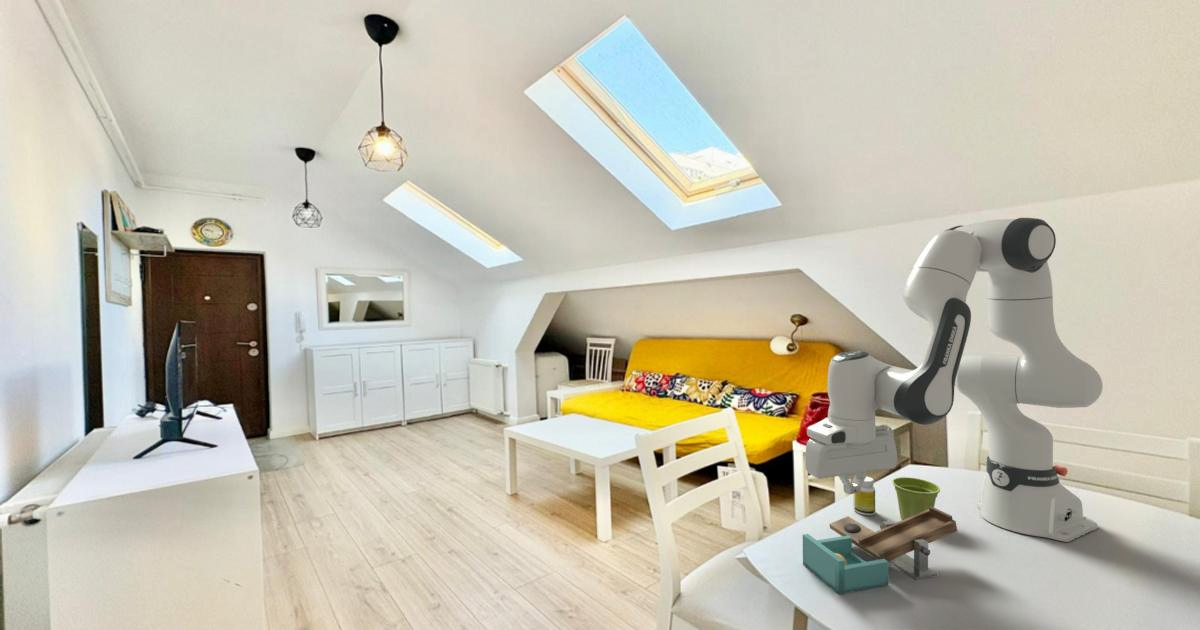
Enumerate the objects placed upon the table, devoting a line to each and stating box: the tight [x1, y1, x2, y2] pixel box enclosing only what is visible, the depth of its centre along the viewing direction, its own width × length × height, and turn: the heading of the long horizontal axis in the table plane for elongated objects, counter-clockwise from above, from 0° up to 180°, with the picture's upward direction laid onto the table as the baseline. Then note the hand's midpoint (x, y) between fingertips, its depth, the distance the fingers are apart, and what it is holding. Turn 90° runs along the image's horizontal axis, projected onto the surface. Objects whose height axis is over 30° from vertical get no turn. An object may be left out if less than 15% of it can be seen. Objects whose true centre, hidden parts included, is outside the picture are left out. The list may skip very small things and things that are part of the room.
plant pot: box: [891, 476, 941, 521], centre depth 110 cm, size 9×9×9 cm
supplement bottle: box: [852, 475, 876, 517], centre depth 115 cm, size 5×5×8 cm
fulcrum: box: [879, 520, 938, 581], centre depth 93 cm, size 5×10×6 cm, turn 13°
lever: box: [829, 506, 958, 561], centre depth 97 cm, size 18×14×3 cm
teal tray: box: [802, 533, 890, 595], centre depth 90 cm, size 11×10×6 cm
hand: (852, 492), depth 99 cm, fingers closed
